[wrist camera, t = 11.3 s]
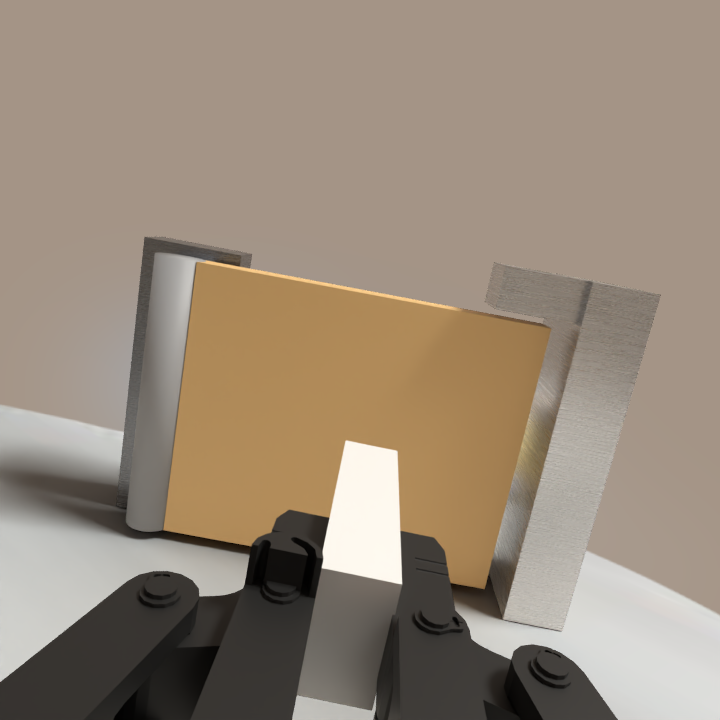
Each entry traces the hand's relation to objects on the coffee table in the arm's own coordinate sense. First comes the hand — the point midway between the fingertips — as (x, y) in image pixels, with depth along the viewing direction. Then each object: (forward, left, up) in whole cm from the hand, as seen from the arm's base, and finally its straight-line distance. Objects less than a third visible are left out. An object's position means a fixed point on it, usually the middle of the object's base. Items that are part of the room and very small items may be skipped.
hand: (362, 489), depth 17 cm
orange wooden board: (-2, +13, -10) cm, 16 cm away
